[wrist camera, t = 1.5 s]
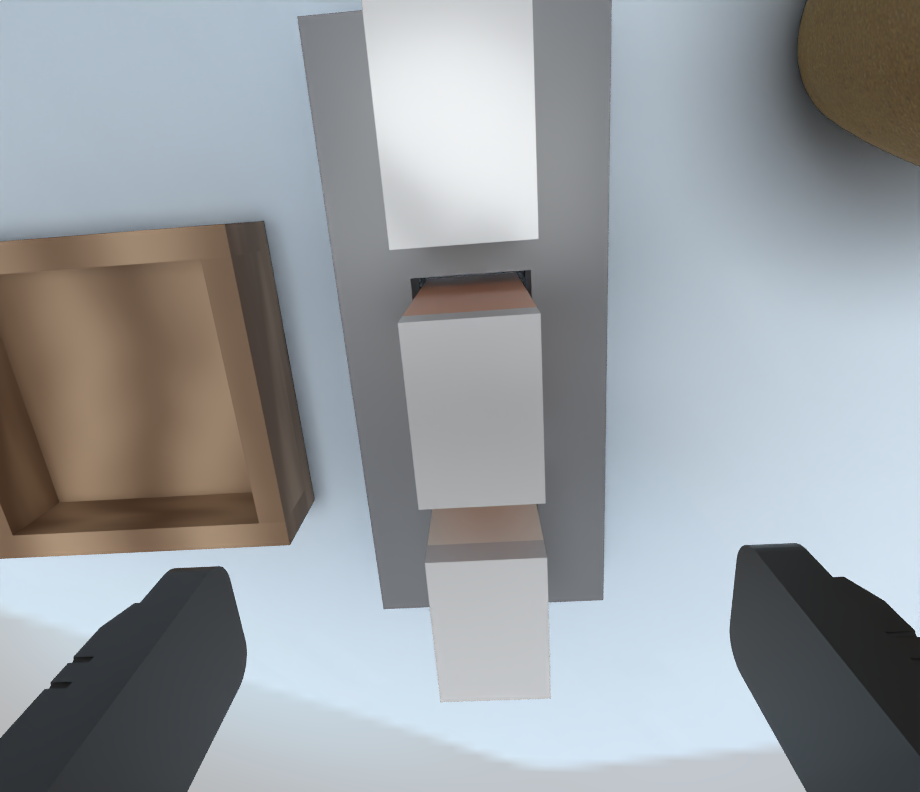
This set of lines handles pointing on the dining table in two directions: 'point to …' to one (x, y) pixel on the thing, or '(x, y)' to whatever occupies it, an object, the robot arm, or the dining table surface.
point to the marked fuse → (474, 392)
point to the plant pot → (865, 69)
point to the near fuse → (454, 119)
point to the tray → (146, 395)
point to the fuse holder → (544, 260)
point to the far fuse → (489, 603)
